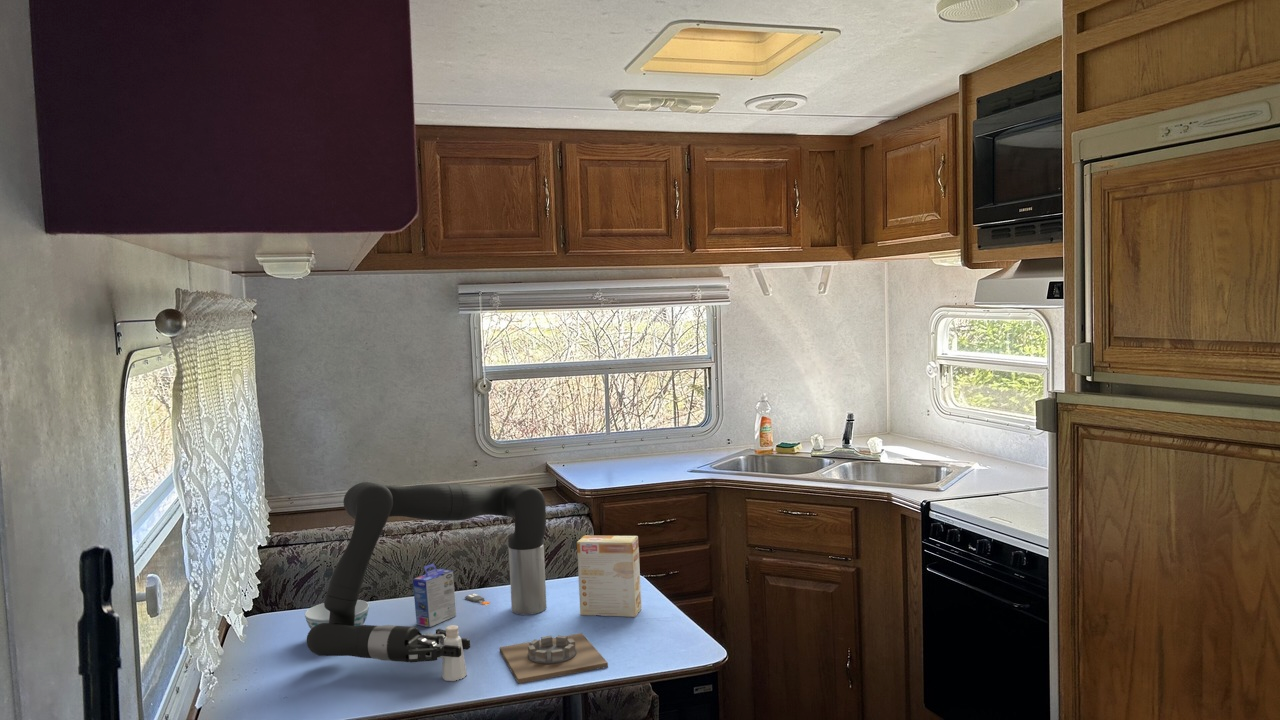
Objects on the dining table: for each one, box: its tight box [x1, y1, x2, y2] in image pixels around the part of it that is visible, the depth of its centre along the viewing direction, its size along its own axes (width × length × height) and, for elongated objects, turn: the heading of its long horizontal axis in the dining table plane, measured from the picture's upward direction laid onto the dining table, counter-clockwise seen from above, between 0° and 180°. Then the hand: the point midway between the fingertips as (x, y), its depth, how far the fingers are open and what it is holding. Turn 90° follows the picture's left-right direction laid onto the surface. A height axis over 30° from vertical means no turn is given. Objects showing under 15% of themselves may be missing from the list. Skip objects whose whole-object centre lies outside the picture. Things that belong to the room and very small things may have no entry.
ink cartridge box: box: [412, 563, 457, 628], centre depth 230 cm, size 10×6×14 cm, turn 148°
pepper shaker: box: [441, 624, 468, 682], centre depth 193 cm, size 5×5×11 cm
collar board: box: [499, 632, 609, 684], centre depth 201 cm, size 20×20×4 cm
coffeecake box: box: [576, 535, 642, 618], centre depth 231 cm, size 15×7×20 cm, turn 77°
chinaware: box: [304, 599, 370, 630], centre depth 219 cm, size 15×15×8 cm
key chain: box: [464, 593, 491, 607], centre depth 244 cm, size 13×4×2 cm, turn 43°
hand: (464, 647), depth 193 cm, fingers closed on pepper shaker, 3 cm apart
